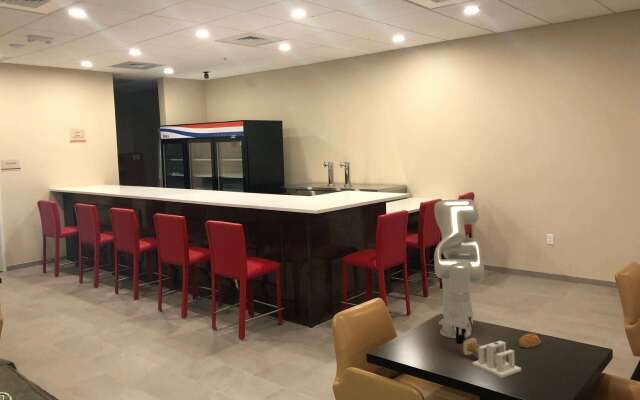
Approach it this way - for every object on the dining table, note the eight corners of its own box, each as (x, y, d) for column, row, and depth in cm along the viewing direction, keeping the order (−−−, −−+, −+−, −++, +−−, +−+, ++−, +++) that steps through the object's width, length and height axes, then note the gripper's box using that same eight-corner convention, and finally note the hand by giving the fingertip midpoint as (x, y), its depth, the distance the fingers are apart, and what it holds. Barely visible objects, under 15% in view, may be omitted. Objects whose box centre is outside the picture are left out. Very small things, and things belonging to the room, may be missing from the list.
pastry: (530, 350, 196) (530, 341, 196) (513, 346, 201) (513, 337, 201) (541, 344, 202) (541, 334, 202) (525, 340, 207) (524, 330, 207)
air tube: (463, 353, 191) (463, 340, 191) (473, 350, 194) (473, 337, 193) (496, 367, 178) (496, 353, 177) (507, 364, 180) (507, 350, 180)
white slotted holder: (472, 365, 185) (472, 340, 184) (491, 358, 190) (491, 335, 189) (501, 377, 173) (501, 352, 173) (521, 370, 178) (521, 345, 178)
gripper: (438, 293, 199) (439, 339, 200) (467, 302, 186) (467, 351, 188) (452, 290, 203) (453, 335, 204) (481, 298, 190) (482, 347, 191)
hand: (460, 343), depth 196 cm, fingers closed
